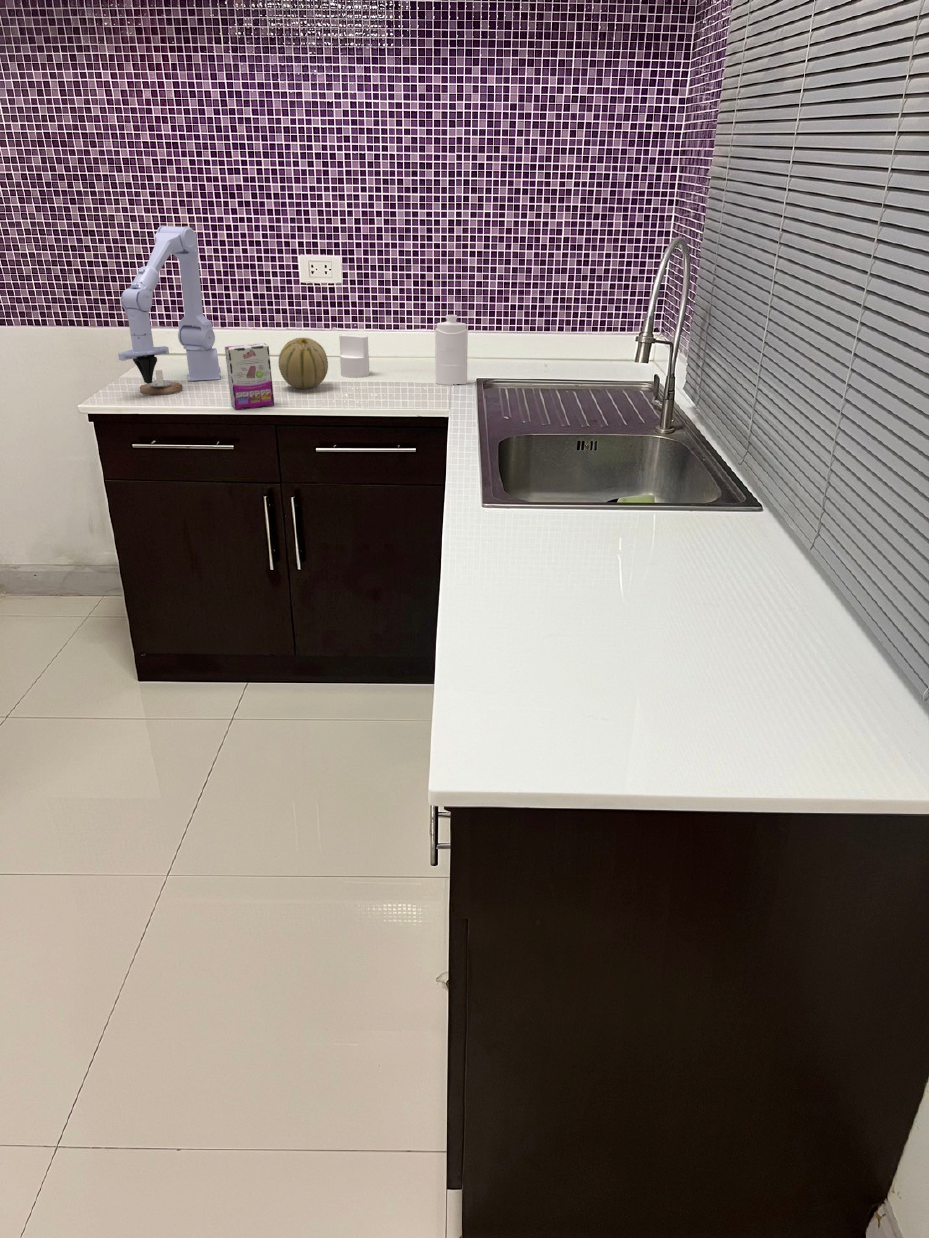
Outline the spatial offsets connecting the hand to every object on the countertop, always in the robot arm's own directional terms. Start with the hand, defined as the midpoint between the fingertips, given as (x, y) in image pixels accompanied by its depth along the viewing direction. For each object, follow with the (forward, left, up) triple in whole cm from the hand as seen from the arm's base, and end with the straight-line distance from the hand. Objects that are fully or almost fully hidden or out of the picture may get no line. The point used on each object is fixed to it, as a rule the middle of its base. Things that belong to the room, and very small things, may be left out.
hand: (148, 382), depth 266 cm
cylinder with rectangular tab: (-62, -12, -4) cm, 64 cm away
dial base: (-3, -5, -4) cm, 7 cm away
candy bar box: (-27, +21, -4) cm, 34 cm away
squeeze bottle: (-88, +8, -4) cm, 89 cm away
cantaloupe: (-44, +3, -4) cm, 44 cm away
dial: (-3, -4, -2) cm, 6 cm away
